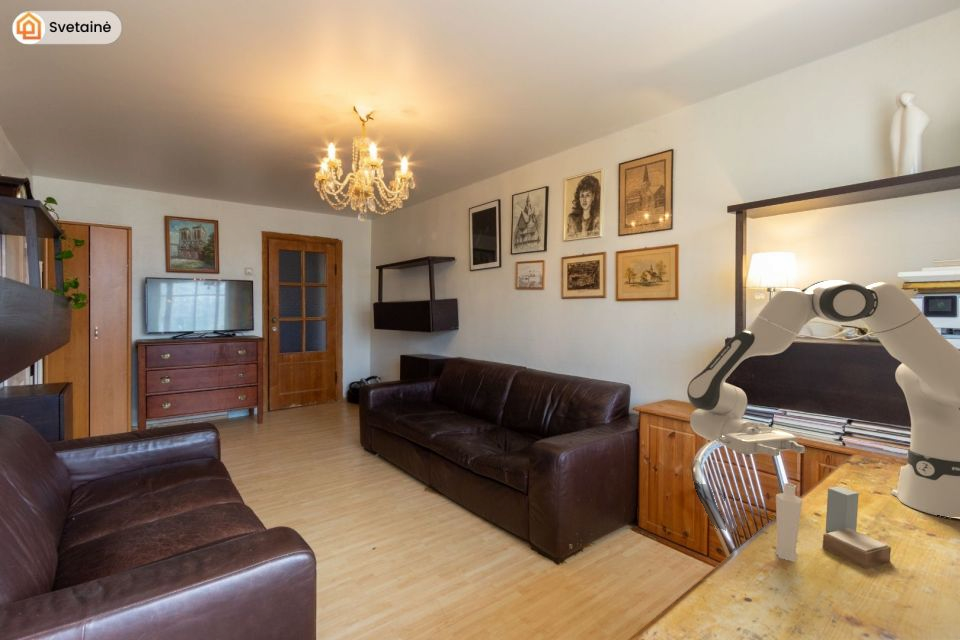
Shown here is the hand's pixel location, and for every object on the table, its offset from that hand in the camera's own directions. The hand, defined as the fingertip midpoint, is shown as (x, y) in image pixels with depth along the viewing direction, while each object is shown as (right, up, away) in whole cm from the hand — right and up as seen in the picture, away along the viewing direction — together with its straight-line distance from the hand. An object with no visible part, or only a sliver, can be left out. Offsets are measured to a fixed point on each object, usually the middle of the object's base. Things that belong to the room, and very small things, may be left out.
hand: (790, 451), depth 115 cm
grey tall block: (+4, -16, -11) cm, 19 cm away
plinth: (0, -16, -20) cm, 25 cm away
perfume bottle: (-15, -16, -21) cm, 31 cm away
